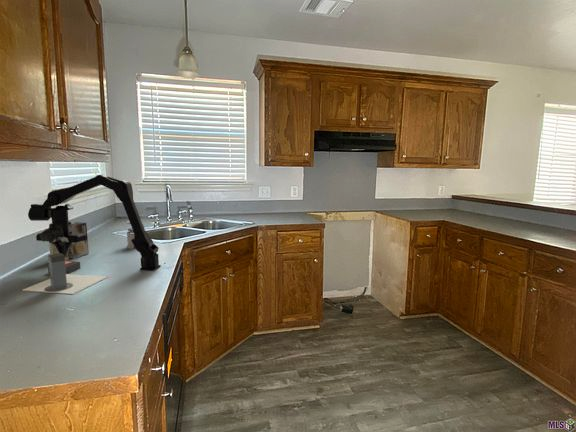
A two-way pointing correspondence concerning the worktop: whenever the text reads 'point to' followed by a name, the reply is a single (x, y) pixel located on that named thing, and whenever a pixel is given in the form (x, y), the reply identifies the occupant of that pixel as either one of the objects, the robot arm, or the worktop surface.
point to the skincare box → (56, 251)
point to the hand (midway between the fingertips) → (63, 256)
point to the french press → (130, 236)
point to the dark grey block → (57, 271)
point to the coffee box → (78, 247)
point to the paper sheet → (73, 284)
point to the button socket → (70, 267)
